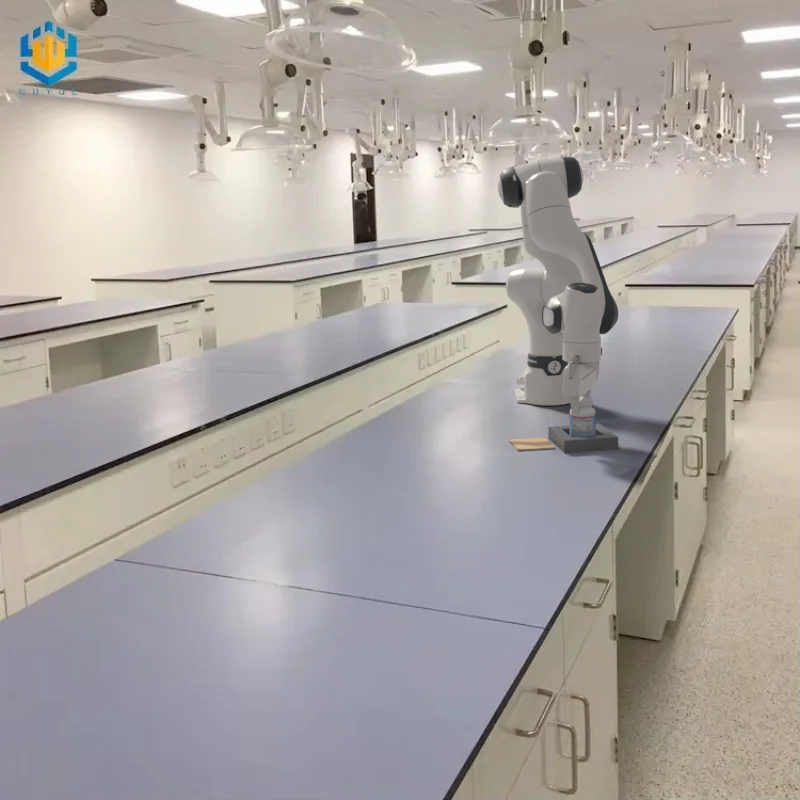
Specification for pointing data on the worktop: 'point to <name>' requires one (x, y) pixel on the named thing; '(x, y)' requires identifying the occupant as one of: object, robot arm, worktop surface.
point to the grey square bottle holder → (583, 440)
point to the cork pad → (531, 444)
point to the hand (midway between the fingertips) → (580, 410)
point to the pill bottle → (583, 419)
